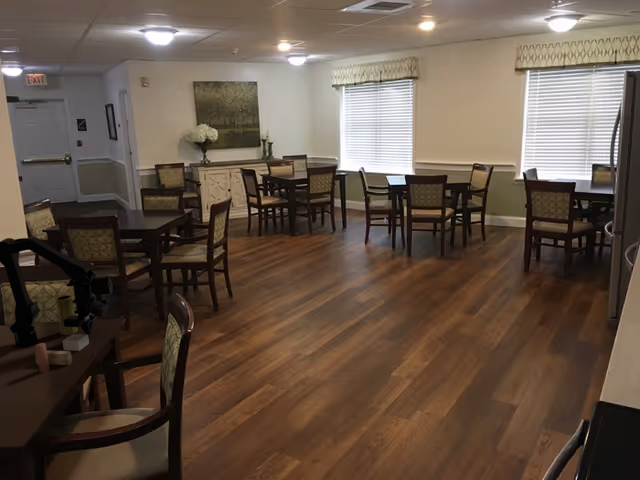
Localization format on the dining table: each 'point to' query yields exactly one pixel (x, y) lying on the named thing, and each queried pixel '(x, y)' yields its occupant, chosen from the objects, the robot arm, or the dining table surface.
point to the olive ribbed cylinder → (65, 313)
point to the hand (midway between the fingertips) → (88, 335)
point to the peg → (42, 357)
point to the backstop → (58, 357)
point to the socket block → (75, 342)
